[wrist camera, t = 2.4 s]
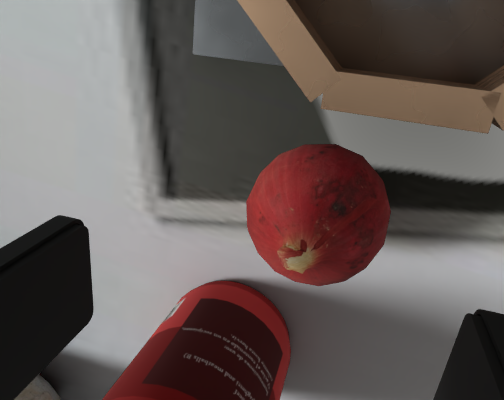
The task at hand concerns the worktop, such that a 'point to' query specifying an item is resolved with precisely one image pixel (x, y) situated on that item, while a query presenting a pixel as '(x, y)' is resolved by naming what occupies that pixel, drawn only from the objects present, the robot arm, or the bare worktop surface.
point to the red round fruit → (318, 214)
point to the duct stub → (373, 53)
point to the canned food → (212, 350)
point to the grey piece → (38, 391)
